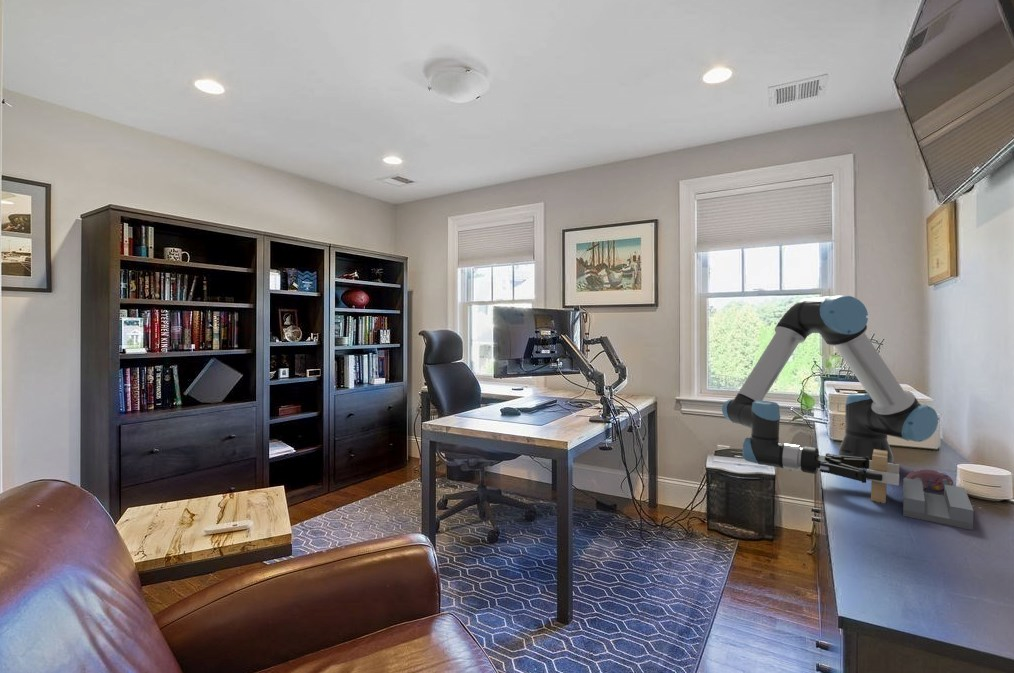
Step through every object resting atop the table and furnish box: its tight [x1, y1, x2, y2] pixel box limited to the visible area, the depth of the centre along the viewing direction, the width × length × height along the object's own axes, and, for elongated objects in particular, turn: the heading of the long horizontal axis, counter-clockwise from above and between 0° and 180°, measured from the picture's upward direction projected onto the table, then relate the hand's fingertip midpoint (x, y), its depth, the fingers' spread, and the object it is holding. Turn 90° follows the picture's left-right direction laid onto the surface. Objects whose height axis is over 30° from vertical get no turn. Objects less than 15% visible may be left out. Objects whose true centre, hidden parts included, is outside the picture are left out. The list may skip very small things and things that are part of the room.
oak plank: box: [870, 449, 888, 504], centre depth 125 cm, size 9×3×12 cm, turn 140°
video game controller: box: [905, 468, 954, 492], centre depth 132 cm, size 10×5×7 cm, turn 63°
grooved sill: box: [902, 477, 974, 531], centre depth 117 cm, size 20×12×4 cm, turn 140°
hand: (899, 474), depth 123 cm, fingers open, 11 cm apart
